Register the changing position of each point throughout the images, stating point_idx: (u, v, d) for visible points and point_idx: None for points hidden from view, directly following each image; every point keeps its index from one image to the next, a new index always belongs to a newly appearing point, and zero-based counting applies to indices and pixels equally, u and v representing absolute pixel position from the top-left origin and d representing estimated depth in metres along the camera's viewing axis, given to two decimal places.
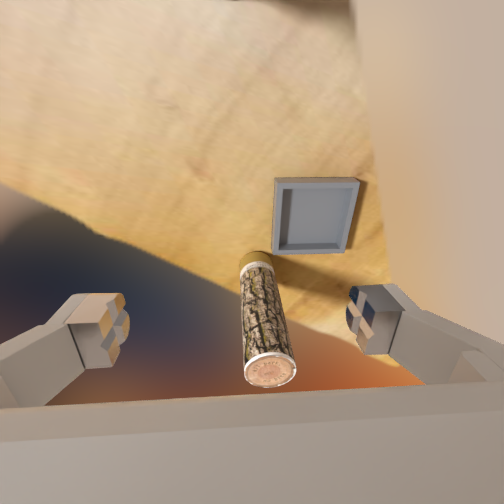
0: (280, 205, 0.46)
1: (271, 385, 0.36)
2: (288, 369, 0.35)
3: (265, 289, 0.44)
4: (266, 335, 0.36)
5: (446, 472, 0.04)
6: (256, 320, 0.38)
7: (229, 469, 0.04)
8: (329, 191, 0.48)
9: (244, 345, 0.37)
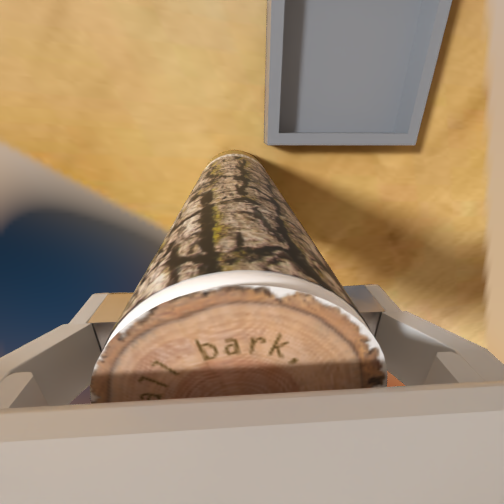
0: (281, 0, 0.20)
1: None
2: None
3: (246, 169, 0.16)
4: (228, 224, 0.08)
5: (446, 472, 0.04)
6: (201, 204, 0.10)
7: (229, 469, 0.04)
8: None
9: None
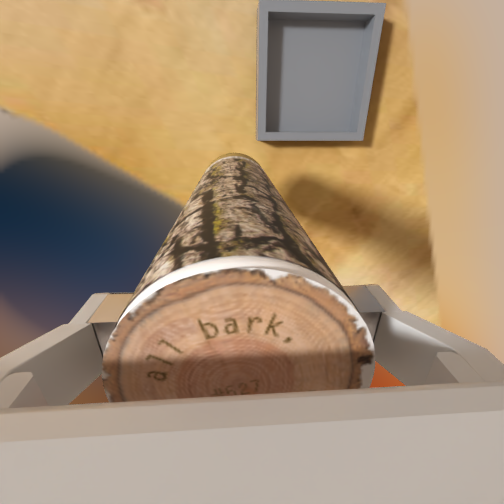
0: (265, 44, 0.30)
1: None
2: (335, 368, 0.07)
3: (245, 170, 0.17)
4: (227, 218, 0.08)
5: (446, 472, 0.04)
6: (202, 202, 0.11)
7: (229, 469, 0.04)
8: (338, 35, 0.32)
9: None
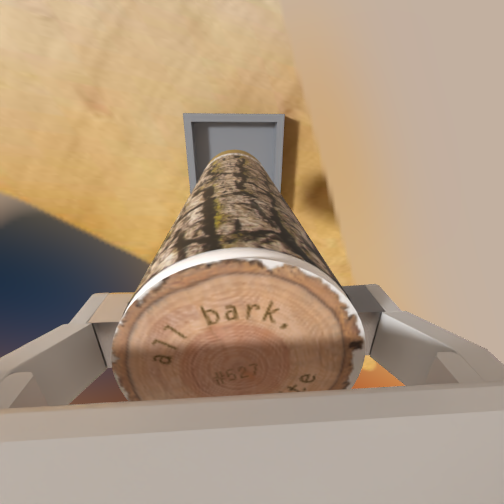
0: (191, 144, 0.38)
1: None
2: (328, 352, 0.07)
3: (244, 167, 0.17)
4: (227, 213, 0.09)
5: (446, 472, 0.04)
6: (203, 198, 0.11)
7: (229, 469, 0.04)
8: (253, 131, 0.40)
9: None
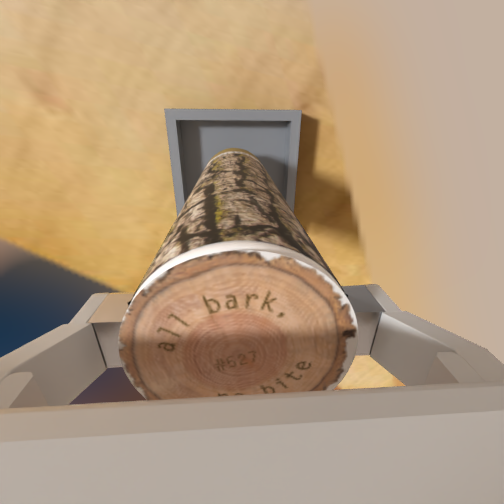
0: (176, 150, 0.29)
1: None
2: (323, 340, 0.08)
3: (244, 165, 0.18)
4: (228, 209, 0.09)
5: (446, 472, 0.04)
6: (204, 195, 0.12)
7: (229, 469, 0.04)
8: (259, 133, 0.31)
9: None
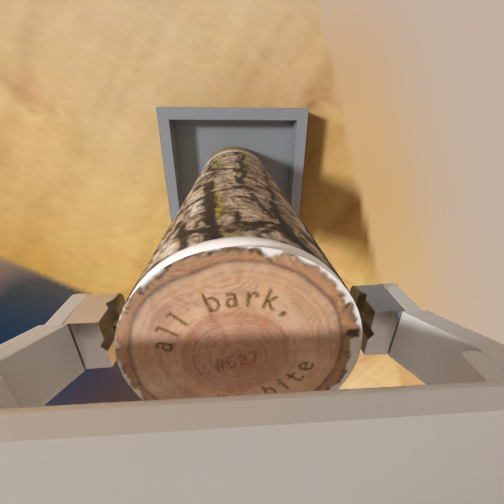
0: (170, 153, 0.26)
1: None
2: (326, 340, 0.07)
3: (244, 163, 0.17)
4: (227, 205, 0.09)
5: (446, 472, 0.04)
6: (203, 192, 0.12)
7: (229, 469, 0.04)
8: (261, 134, 0.28)
9: None
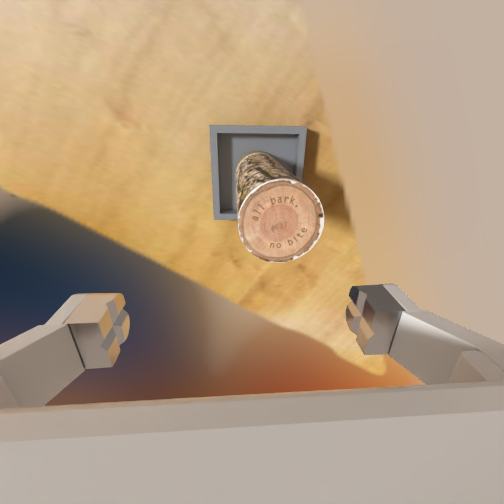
0: (216, 154, 0.40)
1: (283, 258, 0.22)
2: (311, 218, 0.21)
3: (270, 159, 0.31)
4: (273, 172, 0.22)
5: (446, 472, 0.04)
6: (257, 170, 0.25)
7: (229, 469, 0.04)
8: (275, 142, 0.42)
9: (238, 199, 0.23)
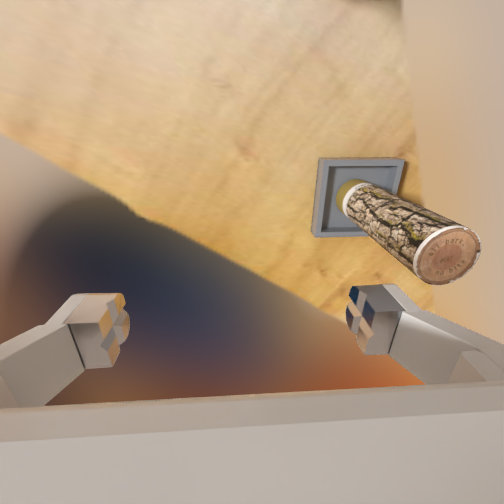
0: (325, 183, 0.47)
1: (442, 281, 0.29)
2: (471, 253, 0.28)
3: (395, 195, 0.38)
4: (434, 217, 0.29)
5: (446, 472, 0.04)
6: (408, 211, 0.32)
7: (229, 469, 0.04)
8: (372, 171, 0.49)
9: (401, 236, 0.30)
